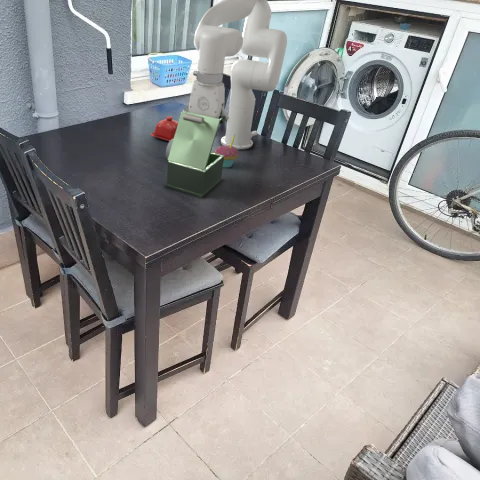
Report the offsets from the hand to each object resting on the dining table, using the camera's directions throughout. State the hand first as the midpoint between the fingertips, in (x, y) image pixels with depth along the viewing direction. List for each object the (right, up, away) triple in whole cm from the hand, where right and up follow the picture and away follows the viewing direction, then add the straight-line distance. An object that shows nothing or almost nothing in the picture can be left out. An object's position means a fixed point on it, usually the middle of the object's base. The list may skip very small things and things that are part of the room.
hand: (204, 136), depth 141 cm
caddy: (-3, -14, +7) cm, 16 cm away
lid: (-4, -2, -5) cm, 6 cm away
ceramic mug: (-6, -4, +22) cm, 23 cm away
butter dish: (-11, +9, +40) cm, 42 cm away
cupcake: (+10, -6, +20) cm, 23 cm away
